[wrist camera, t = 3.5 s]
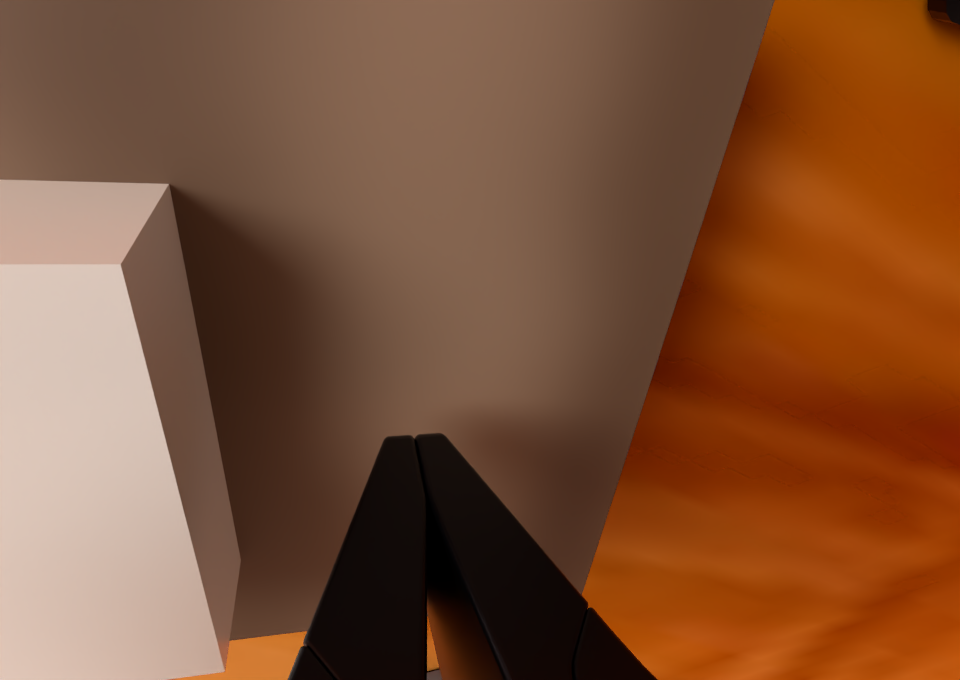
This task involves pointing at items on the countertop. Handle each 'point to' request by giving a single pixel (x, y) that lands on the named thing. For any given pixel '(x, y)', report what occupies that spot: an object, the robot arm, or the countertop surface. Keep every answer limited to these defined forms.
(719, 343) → the countertop surface
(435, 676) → the bottle
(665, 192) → the step
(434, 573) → the robot arm
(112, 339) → the pale pink rectangular block
